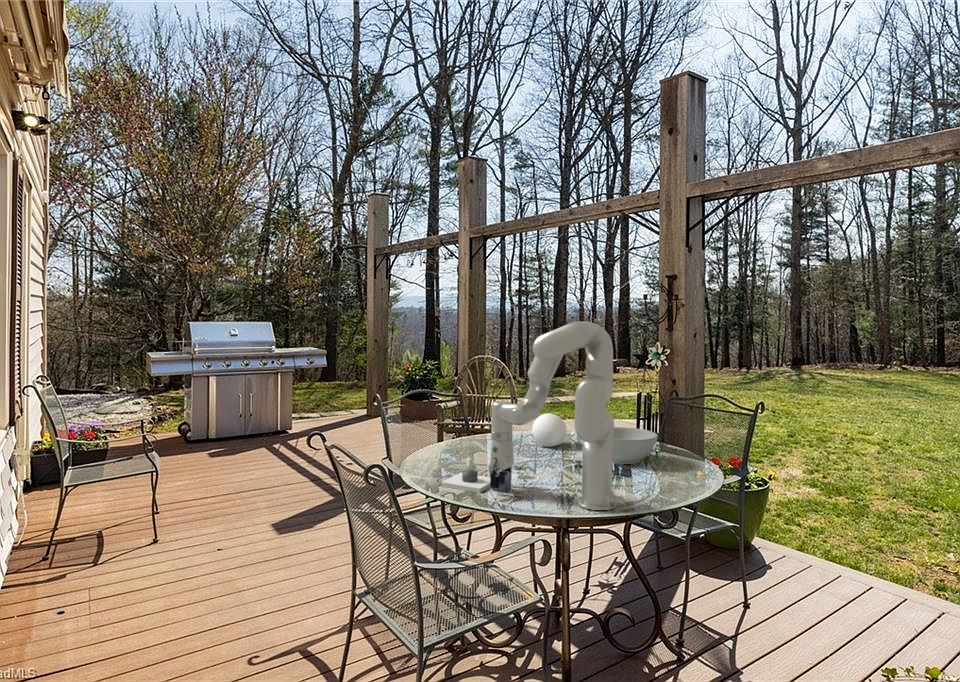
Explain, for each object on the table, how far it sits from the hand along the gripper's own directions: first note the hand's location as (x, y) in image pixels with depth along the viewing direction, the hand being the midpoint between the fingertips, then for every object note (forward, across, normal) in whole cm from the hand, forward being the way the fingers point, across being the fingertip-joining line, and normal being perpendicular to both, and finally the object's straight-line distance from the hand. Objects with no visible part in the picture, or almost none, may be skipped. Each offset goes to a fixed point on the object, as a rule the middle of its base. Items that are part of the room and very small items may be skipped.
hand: (501, 483), depth 192 cm
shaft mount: (+2, 0, +13) cm, 13 cm away
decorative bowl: (+2, +62, -28) cm, 68 cm away
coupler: (+2, 0, 0) cm, 2 cm away
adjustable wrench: (+3, +36, +15) cm, 39 cm away
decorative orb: (+2, +72, +11) cm, 73 cm away
